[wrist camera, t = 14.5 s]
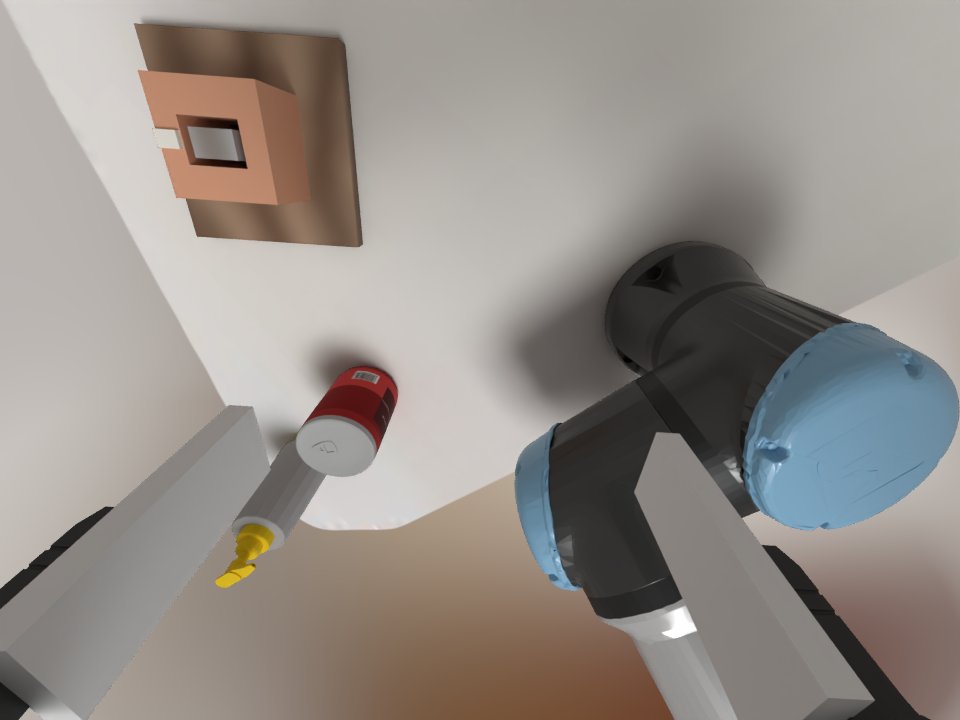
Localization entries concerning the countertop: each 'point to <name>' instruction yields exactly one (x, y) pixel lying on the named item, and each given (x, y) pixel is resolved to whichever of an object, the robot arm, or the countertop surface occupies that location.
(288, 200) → the orange open box
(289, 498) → the soap bottle
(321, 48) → the base plate
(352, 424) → the canned food
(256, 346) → the countertop surface
